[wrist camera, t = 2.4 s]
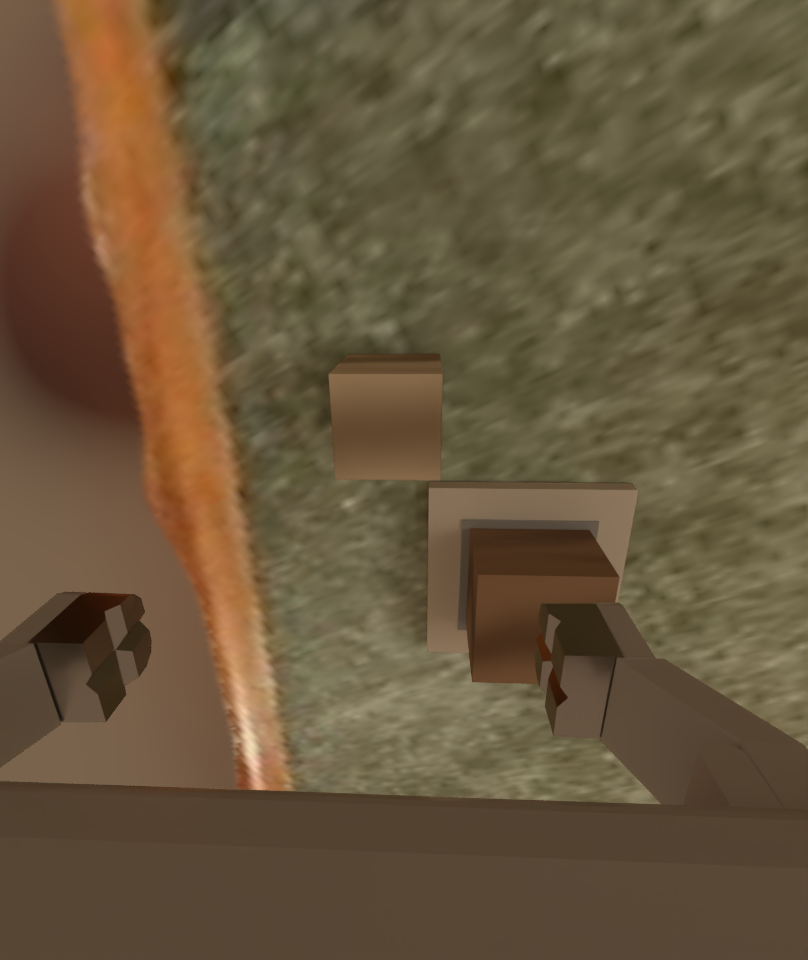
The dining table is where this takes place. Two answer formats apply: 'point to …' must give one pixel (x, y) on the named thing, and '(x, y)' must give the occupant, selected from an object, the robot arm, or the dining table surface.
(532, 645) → the walnut block
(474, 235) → the dining table surface
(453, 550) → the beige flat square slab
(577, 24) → the dining table surface
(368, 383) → the maple block
